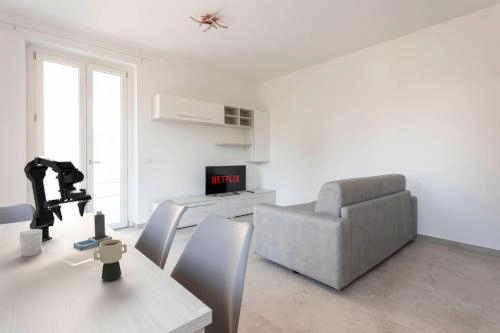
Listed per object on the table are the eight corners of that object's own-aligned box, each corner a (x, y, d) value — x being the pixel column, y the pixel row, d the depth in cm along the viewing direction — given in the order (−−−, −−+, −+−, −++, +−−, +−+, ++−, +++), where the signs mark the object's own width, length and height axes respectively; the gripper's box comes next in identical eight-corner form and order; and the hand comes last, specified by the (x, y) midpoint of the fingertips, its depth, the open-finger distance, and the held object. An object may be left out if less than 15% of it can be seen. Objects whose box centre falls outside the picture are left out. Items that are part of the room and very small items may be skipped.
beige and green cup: (123, 270, 100) (123, 236, 100) (131, 276, 95) (130, 241, 94) (91, 280, 92) (90, 243, 92) (97, 287, 87) (96, 249, 87)
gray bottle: (93, 240, 132) (92, 211, 131) (102, 238, 136) (101, 209, 135) (97, 242, 129) (96, 212, 129) (107, 240, 133) (106, 210, 132)
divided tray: (71, 247, 125) (70, 242, 125) (104, 238, 138) (104, 233, 138) (81, 251, 119) (81, 246, 119) (115, 242, 132) (114, 237, 132)
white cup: (30, 257, 113) (28, 234, 112) (15, 256, 114) (14, 233, 114) (47, 251, 120) (46, 229, 120) (33, 249, 122) (32, 228, 122)
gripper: (53, 185, 113) (59, 221, 112) (95, 181, 130) (101, 212, 129) (40, 189, 118) (46, 224, 117) (82, 185, 135) (87, 215, 134)
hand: (72, 218), depth 124 cm, fingers open, 9 cm apart
